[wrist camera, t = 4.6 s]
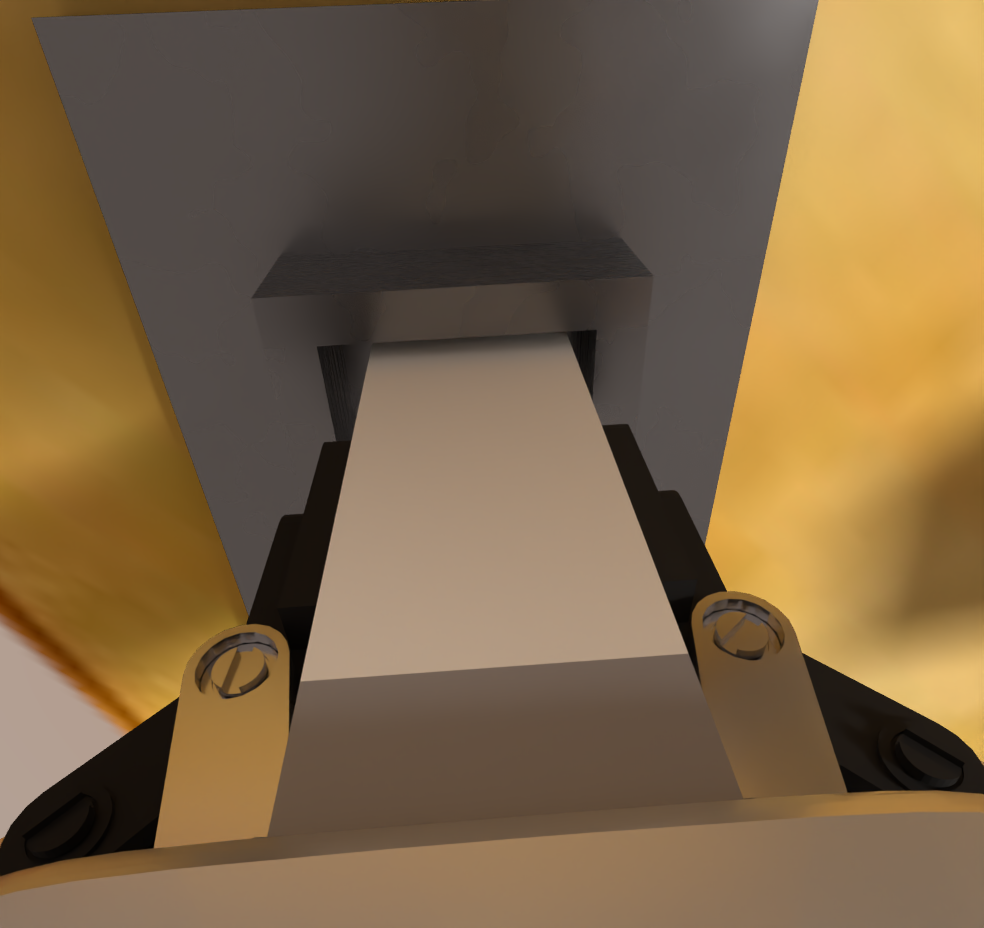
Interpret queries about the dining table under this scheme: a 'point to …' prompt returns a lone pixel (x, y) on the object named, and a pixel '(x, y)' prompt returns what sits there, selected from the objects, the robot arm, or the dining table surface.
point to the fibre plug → (489, 611)
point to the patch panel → (434, 210)
